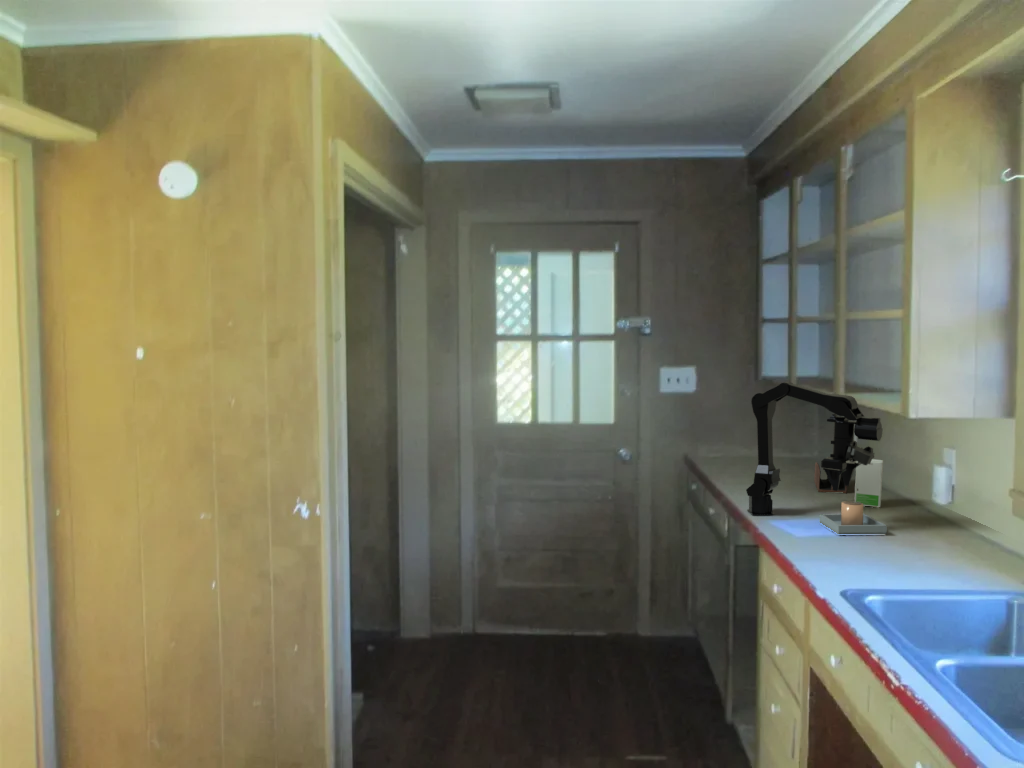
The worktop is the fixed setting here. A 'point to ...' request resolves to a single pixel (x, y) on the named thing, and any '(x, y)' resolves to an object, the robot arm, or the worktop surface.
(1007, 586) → the worktop surface
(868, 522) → the tray
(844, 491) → the letter holder
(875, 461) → the skincare box
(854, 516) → the terracotta cup
